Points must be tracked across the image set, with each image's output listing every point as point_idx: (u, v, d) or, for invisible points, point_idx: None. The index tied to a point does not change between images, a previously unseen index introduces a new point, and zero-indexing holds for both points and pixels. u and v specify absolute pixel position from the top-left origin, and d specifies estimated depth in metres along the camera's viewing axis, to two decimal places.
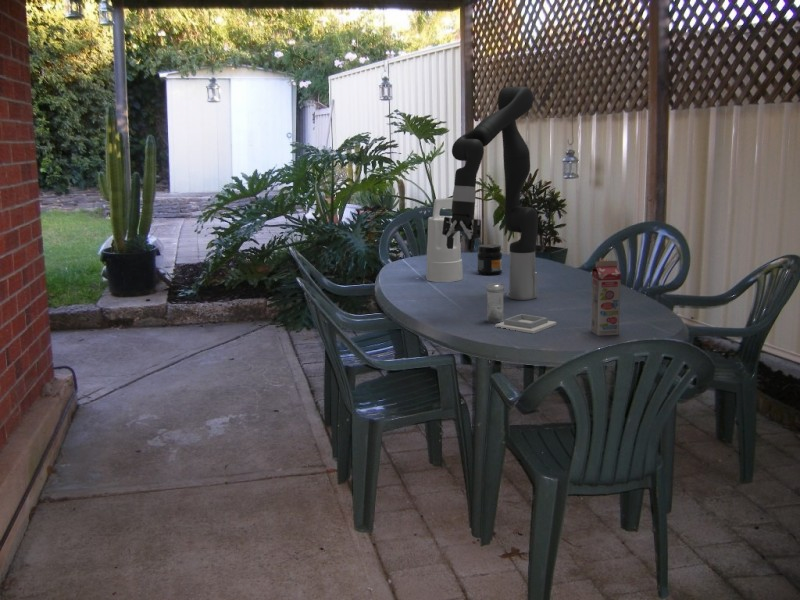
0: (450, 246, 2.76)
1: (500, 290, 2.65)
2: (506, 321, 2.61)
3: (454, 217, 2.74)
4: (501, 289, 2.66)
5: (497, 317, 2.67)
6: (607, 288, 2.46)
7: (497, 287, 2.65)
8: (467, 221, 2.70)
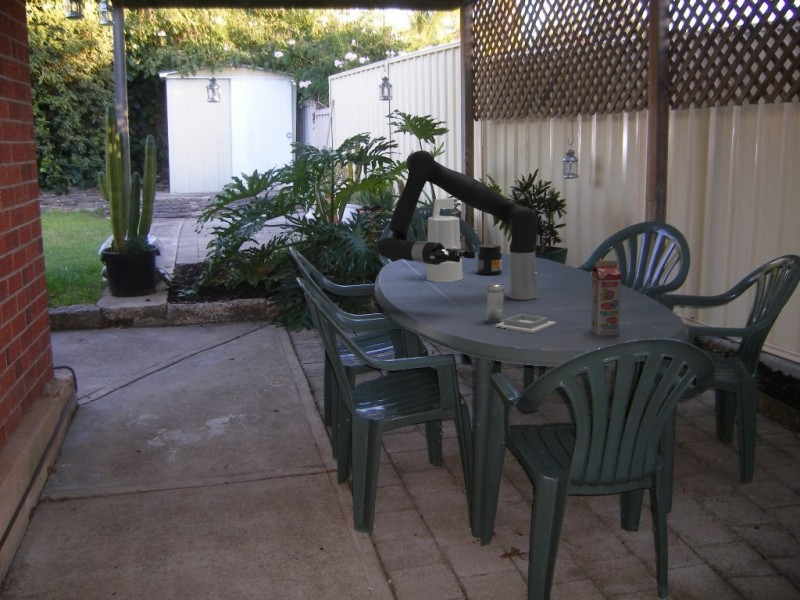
0: (471, 256, 2.76)
1: (500, 290, 2.65)
2: (506, 321, 2.61)
3: None
4: (501, 289, 2.66)
5: (497, 317, 2.67)
6: (607, 288, 2.46)
7: (497, 287, 2.65)
8: None
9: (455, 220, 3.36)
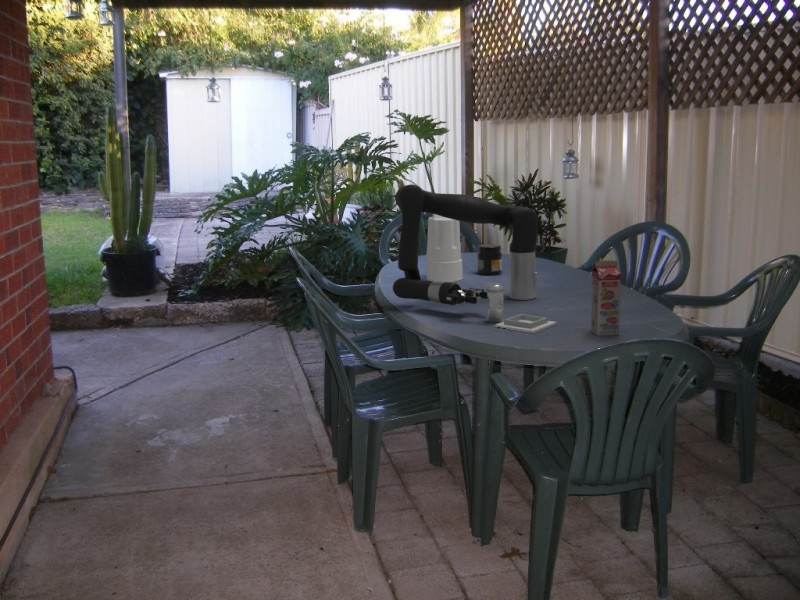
0: None
1: (500, 290, 2.65)
2: (506, 321, 2.61)
3: None
4: (501, 289, 2.66)
5: (497, 317, 2.67)
6: (607, 288, 2.46)
7: (497, 287, 2.65)
8: None
9: (455, 220, 3.36)
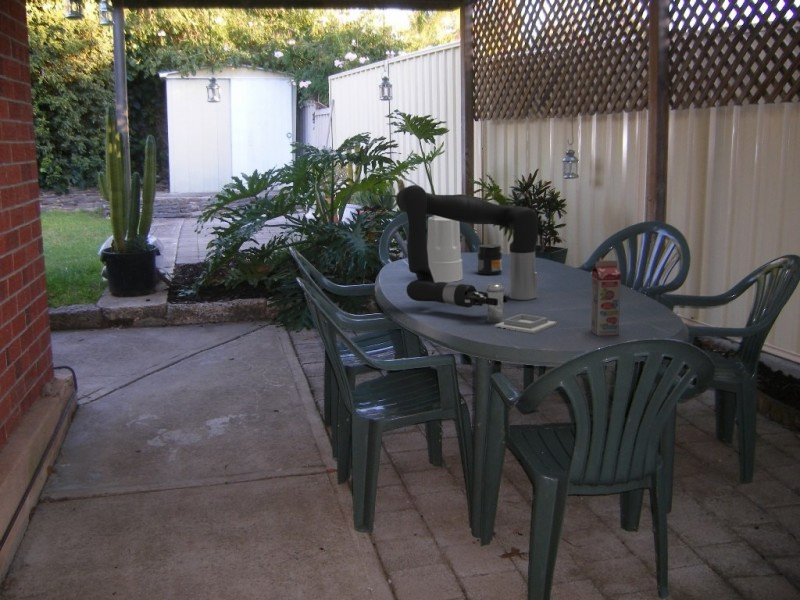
0: (504, 299, 2.69)
1: (500, 290, 2.65)
2: (506, 321, 2.61)
3: None
4: (501, 289, 2.66)
5: (497, 317, 2.67)
6: (607, 288, 2.46)
7: (497, 287, 2.65)
8: None
9: None
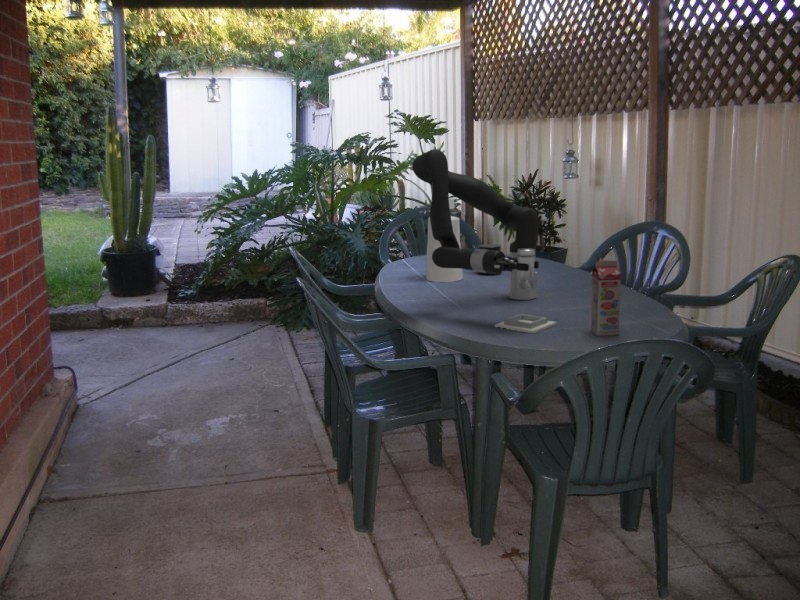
0: (535, 265, 2.59)
1: (531, 255, 2.55)
2: (506, 321, 2.61)
3: None
4: (532, 254, 2.56)
5: (528, 283, 2.57)
6: (607, 288, 2.46)
7: (528, 252, 2.55)
8: None
9: (455, 220, 3.36)
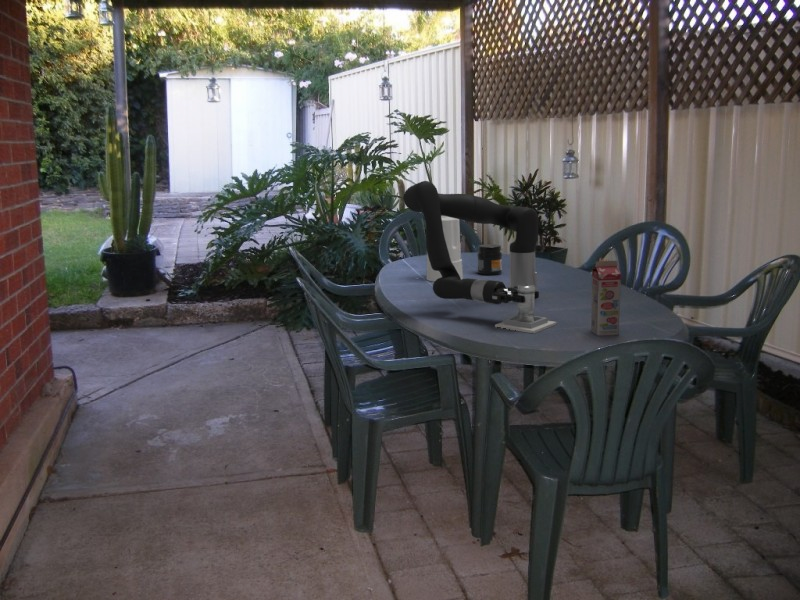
0: (535, 295, 2.63)
1: (531, 292, 2.58)
2: (506, 321, 2.61)
3: None
4: (532, 291, 2.58)
5: (528, 320, 2.59)
6: (607, 288, 2.46)
7: (528, 288, 2.57)
8: None
9: (455, 220, 3.36)
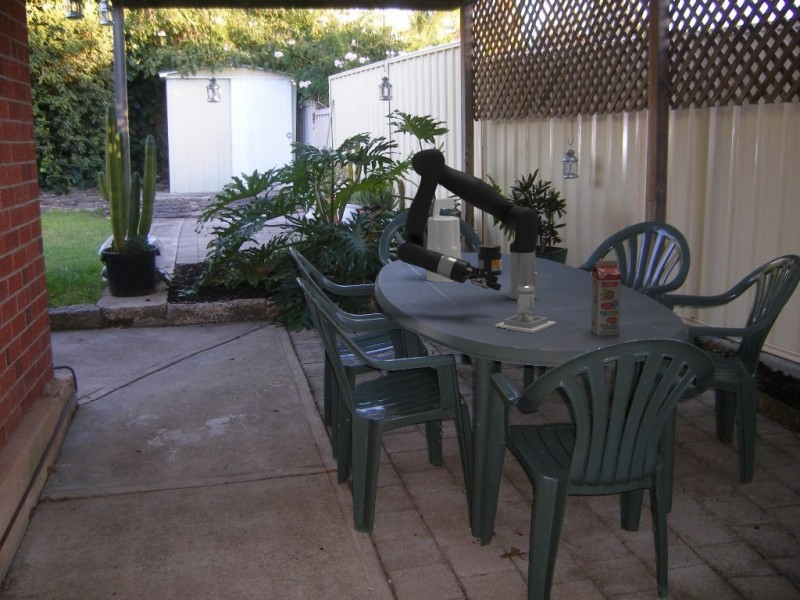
0: (497, 287, 2.75)
1: (531, 291, 2.58)
2: (506, 321, 2.61)
3: (469, 279, 2.76)
4: (532, 290, 2.58)
5: (528, 320, 2.59)
6: (607, 288, 2.46)
7: (528, 288, 2.57)
8: (469, 275, 2.71)
9: (455, 220, 3.36)
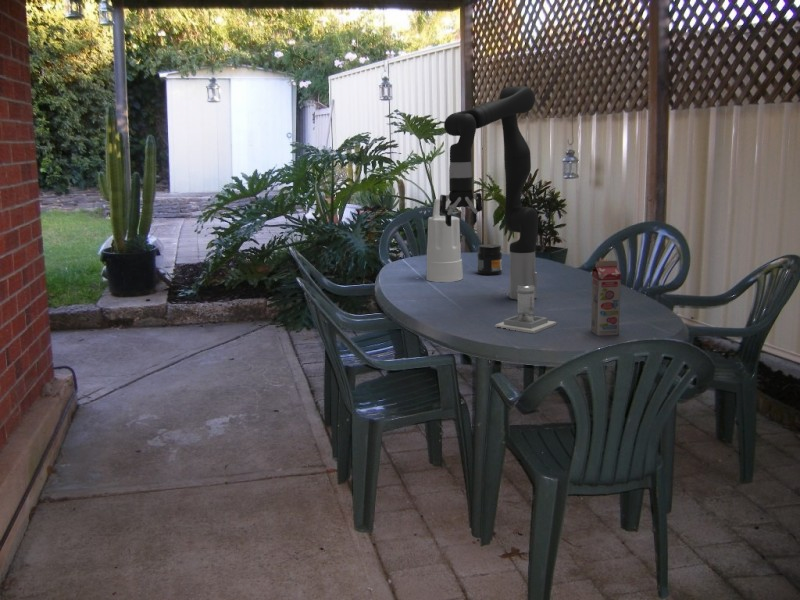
0: None
1: (531, 292, 2.58)
2: (506, 321, 2.61)
3: (455, 194, 2.71)
4: (532, 290, 2.58)
5: (528, 320, 2.59)
6: (607, 288, 2.46)
7: (528, 288, 2.57)
8: (470, 196, 2.73)
9: (455, 220, 3.36)
